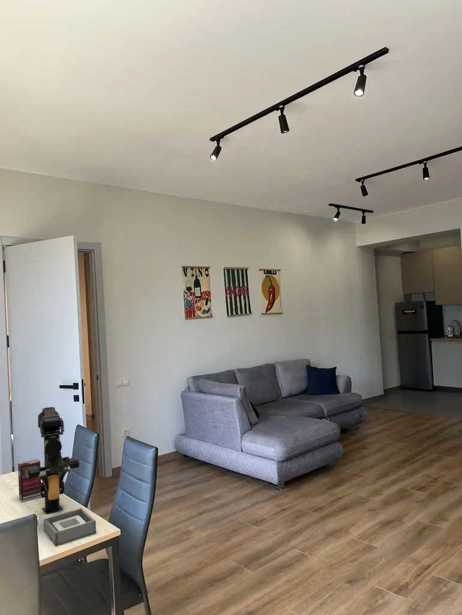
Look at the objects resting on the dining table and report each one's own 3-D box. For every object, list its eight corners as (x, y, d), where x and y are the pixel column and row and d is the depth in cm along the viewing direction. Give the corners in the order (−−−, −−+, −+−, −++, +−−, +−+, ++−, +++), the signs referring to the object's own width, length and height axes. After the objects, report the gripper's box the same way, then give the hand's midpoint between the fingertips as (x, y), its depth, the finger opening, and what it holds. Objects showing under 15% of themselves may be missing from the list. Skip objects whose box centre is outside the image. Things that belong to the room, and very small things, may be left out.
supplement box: (39, 494, 202) (37, 458, 203) (42, 497, 198) (40, 461, 199) (18, 499, 197) (17, 463, 197) (21, 502, 193) (19, 465, 194)
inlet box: (44, 531, 164) (43, 518, 165) (82, 519, 173) (81, 508, 173) (55, 546, 152) (55, 533, 153) (96, 533, 161) (95, 520, 161)
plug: (46, 497, 172) (46, 476, 172) (57, 494, 174) (57, 474, 174) (49, 500, 168) (49, 479, 169) (60, 497, 171) (60, 476, 171)
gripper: (31, 458, 160) (32, 503, 159) (83, 448, 171) (84, 489, 171) (24, 452, 169) (25, 494, 168) (74, 442, 180) (75, 482, 179)
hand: (53, 490), depth 171 cm, fingers closed on plug, 4 cm apart
